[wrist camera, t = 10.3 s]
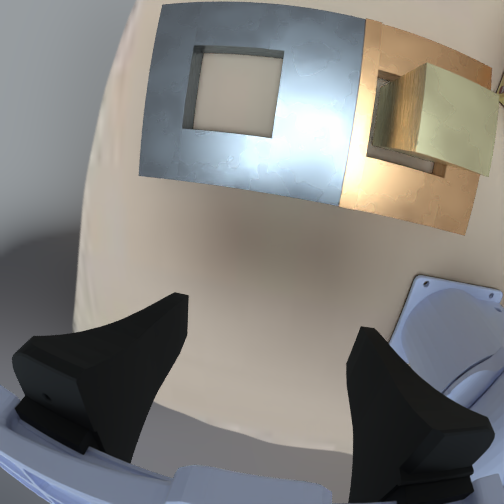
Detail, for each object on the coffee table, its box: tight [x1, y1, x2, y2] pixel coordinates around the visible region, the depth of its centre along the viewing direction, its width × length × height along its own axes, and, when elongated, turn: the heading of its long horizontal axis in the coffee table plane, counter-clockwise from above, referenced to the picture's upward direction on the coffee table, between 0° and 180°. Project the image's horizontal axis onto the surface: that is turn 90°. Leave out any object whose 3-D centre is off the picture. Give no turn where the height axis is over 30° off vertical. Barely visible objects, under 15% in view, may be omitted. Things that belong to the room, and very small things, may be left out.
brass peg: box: [372, 63, 499, 177], centre depth 14 cm, size 4×4×8 cm
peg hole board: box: [139, 2, 492, 236], centre depth 17 cm, size 22×12×2 cm, turn 83°
